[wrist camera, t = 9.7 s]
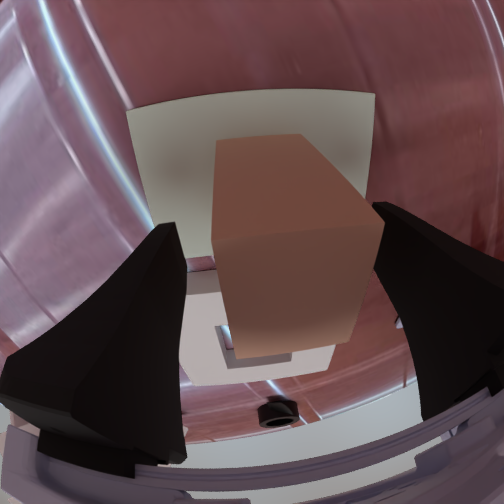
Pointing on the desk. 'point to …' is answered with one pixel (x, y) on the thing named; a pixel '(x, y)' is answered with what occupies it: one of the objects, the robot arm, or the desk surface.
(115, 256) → the desk surface
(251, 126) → the rubber mat
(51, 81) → the desk surface
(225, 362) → the white square frame
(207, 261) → the desk surface
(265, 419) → the duct tape
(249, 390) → the desk surface
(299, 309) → the plug
